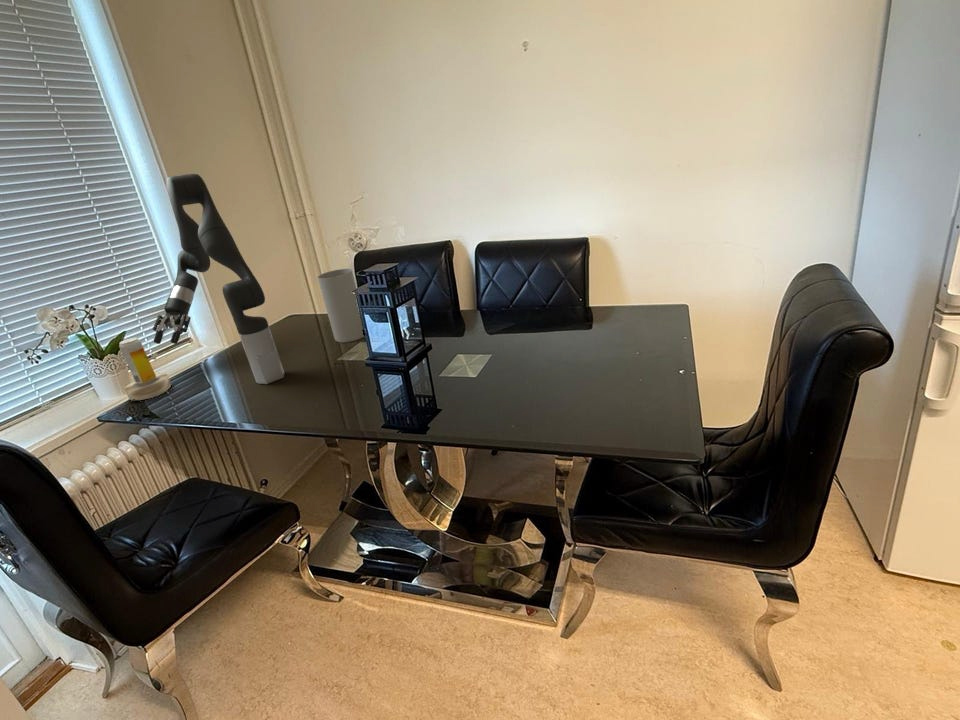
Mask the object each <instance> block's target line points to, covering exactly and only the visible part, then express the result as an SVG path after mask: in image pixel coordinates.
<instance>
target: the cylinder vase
mask: <svg viewBox="0 0 960 720" xmlns="http://www.w3.org/2000/svg"><path fill="white" fill-rule="evenodd" d="M316 279H317V282H318V284H319V285H318V286H319V289H320V292H321V296H322V299H323V302H324V306H325V309H326V310H325V311H326V313H327V316H328V320H329V322H330V328H331V330H332V334H333V337H334V341H335V342H337V343H341V344H342V343H344V344H345V343H352V342H355V341H358V340H361V339H362V338H364V337H365V336H364V335H363V331H362V326H361V319H360V314H359V311H358V307H357V302H356V296H355V294H353V293H351V292H352V291H354V290H355V289H357V285H356V280H355V278H354V273H353V271H352V268H341V269H335V270H330V271H326V272H324V273H322V274H319V275H317V276H316Z"/></svg>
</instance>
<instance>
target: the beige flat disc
mask: <svg viewBox="0 0 960 720" xmlns="http://www.w3.org/2000/svg"><path fill="white" fill-rule="evenodd" d="M155 375H156V377H155V380H154V381H152V382H150V383H147V384H144V385H139V384H137V383H136V382H135V380H134V381H132V382H130V383H129V384H128V385H126V386H125V387H124V390H125V393H126V395H127V397H128V399H129V401H130V400H133V399H135V400H143V399H148V398H152V397H155V396H157V395H159V394H162V393H164V392H165V391H167V390H168V389H169V388H170V387H171V385H172V386H173V384H172V383H171V382H172V381H171V380H170V378H169V376H168V374H166V373H155ZM167 392H168V391H167ZM164 394H165V393H164ZM162 395H163V394H162ZM157 397H158V396H157ZM155 398H156V397H155ZM152 399H153V398H152Z"/></svg>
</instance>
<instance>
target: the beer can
mask: <svg viewBox="0 0 960 720" xmlns="http://www.w3.org/2000/svg"><path fill="white" fill-rule="evenodd" d="M119 349H120V352H121V354H122V356H123V358H124V360H125V363H126V365H127V367H128V369H129V371H130V374H131V376H132V377H133V379H134V381H135V382H136V383H137V384H139V385H144V384H147V383H150V382H152V381H154V380H155V377H156V375H155V374H156V373H155V370H154V369H153V366H152V364H151V362H150V360H149V357H148V355H147V353H146V351H145V348H144V346H143V344H142V342H141V340H140V339H139V338H138V337H130V338H127V339H124V340H122V341H120V342H119Z"/></svg>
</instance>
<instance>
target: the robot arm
mask: <svg viewBox="0 0 960 720" xmlns="http://www.w3.org/2000/svg"><path fill="white" fill-rule="evenodd" d="M165 184H166V192H167V196H168V199H169V201H170V205H171V208H172V213H173V215H174V218H175V221H176V224H177V228H178V232H179V240H180V241H179V242H180V246H181V249H182V250H181V251H180V252H179V253H178V255H177V270H176V271H177V272H176V277H175V281H174V282H173V286H172V288H171V289H170V292H169V294H168V297H167V299H166V302H165V306H164V311H165V315H164V316H163V315H160V314H159V315H157V318H156V320H155V323H154V324H153V327H152V330H153V331H154V332H155V336H154V338H153V343H155V344H157V345H160V344H161V342H162V340H163V337H164V334H165V333H166V332H167V331H170V329H173V333H172V335H171V338H170V343H172V344H173V345H174V344H175V345H178V342H179V340H180V337H181V335H183V334H184V333H187V332H188V329H189V325H190V323H191V317H190V316H189V312H190V310H191V308H192V307H191V306H192V304H193V301H194V298H195V297H194V296H195V292H196V290H197V287H198V283H199V279H198V278H197V276H195V275H193V274H191V273H189V272H187V270H189V271H193V272H197V273H206V272H207V271H208V270H209V269H210V266H211V259H212V260H214V261H215V262H217V263H218V264H220V265H222V266H223V267H225V268H227V269H229V270H230V271H232V272H233V273H235V274H236V275H237V276H238V278H239V280H236V281H231V282H228V283H226V284H224V285H223V286H222V294H223V297H224V300H225V303H226V305H227V308H228V310H229V311H230V314H231V317H232V319H233V322H234V324H235V327H236V330H237V333H238V336H239V338H240V341H241V344H242V346H243V350H244V353H245V355H246V359H247V360H248V361H247V362H248V364H249V366H250V369H251V371H252V374H253V377H254V380H255V382H256V383H257V384H260V385H261V384H263V385H268V384H270V383H273V382H275V381H278V380H280V379H284V377H285V371H284V367H283V364H282V361H281V358H280V355H279V353H278V350H277V346H276V344H275V340H274V337H273V335H272V331H271V329H270V325H269V322H268V320H267V318H266V317H264V316H251V315H246V314H245V313H244V311H247V310H251V309H254V308H257V307H260V306H262V305H264V303H265V301H266V296H265V293H264V291H263V288H262V286H261V284H260V283H259V281H258V280H257V278H256V276H255V275H254V272H252V270H251V269H250V267H249V266H248V264H247V262H246V260H245V259H244V258H243V255H242V253H241V251H240V249H239V248H238V245H237V244H236V242H235V240H234V237H233V236H232V233H231V232H230V230H229V228H228V227H227V226H226V225H227V224H225V222H224V220H223V217H221V214H220V213H219V211H218V209H217V206H216V205H215V203H214V199H213V198H212V196H211V193H210V192H209V189H208V187H207V186H208V185H207V184H206V183H205V180H204V179H203V178H202V177H201V175H200V174H198V173H185V174H179V175H171V176H168V177H167V179H166V183H165ZM196 204H199V205H201V207H202V214H201V219H200V221H199V224H198V223H197V222H196V221H195V220H194V219H193V218H192V217H191V216H190V215H189V214H188V213H187V212H186V211H185V209H184V206H188V205H190V206H191V205H196ZM210 258H211V259H210Z"/></svg>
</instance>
